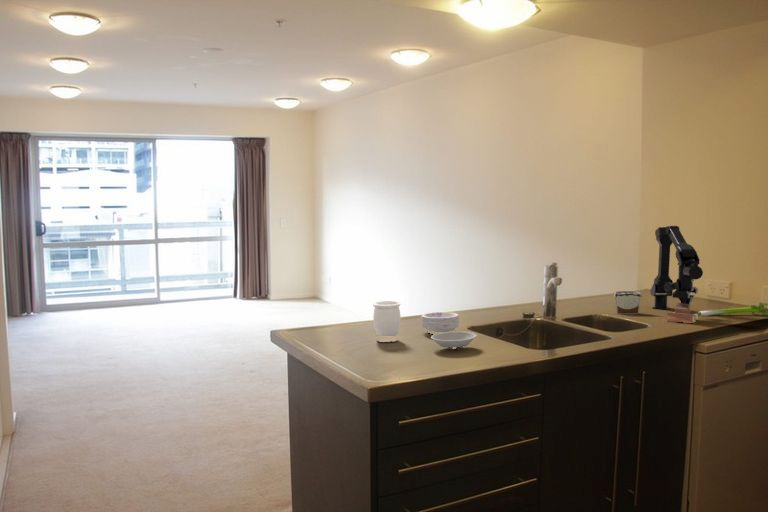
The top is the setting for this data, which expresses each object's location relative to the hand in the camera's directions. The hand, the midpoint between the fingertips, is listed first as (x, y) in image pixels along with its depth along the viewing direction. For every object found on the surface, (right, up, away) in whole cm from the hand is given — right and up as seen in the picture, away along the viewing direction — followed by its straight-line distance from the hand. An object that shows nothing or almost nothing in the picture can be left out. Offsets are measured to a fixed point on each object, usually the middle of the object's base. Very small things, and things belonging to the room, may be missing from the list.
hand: (684, 311), depth 270 cm
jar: (-131, -9, -31) cm, 135 cm away
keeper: (-2, -3, -2) cm, 4 cm away
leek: (+25, -3, +7) cm, 26 cm away
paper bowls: (-110, -8, -19) cm, 112 cm away
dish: (-107, -10, -47) cm, 117 cm away
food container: (-19, -2, +18) cm, 26 cm away
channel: (-2, -4, -3) cm, 5 cm away
